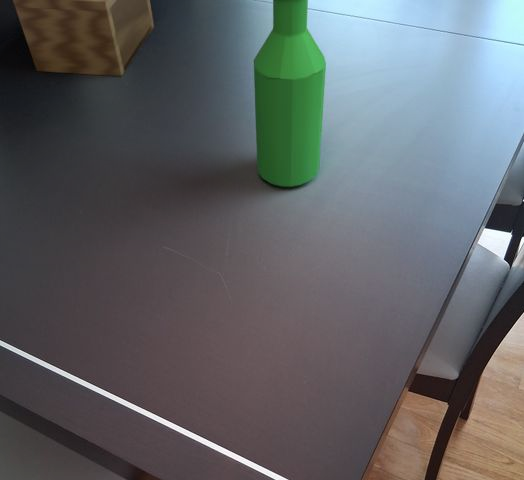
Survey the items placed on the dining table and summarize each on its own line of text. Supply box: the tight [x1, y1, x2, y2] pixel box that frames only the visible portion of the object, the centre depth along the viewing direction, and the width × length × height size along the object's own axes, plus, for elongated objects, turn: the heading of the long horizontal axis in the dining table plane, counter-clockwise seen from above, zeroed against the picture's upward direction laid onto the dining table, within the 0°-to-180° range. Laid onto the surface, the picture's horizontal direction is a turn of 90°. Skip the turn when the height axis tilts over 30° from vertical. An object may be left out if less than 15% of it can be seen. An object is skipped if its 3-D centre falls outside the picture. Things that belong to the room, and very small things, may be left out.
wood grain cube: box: [12, 0, 155, 77], centre depth 102 cm, size 16×20×12 cm
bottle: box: [253, 0, 327, 188], centre depth 71 cm, size 9×9×25 cm
